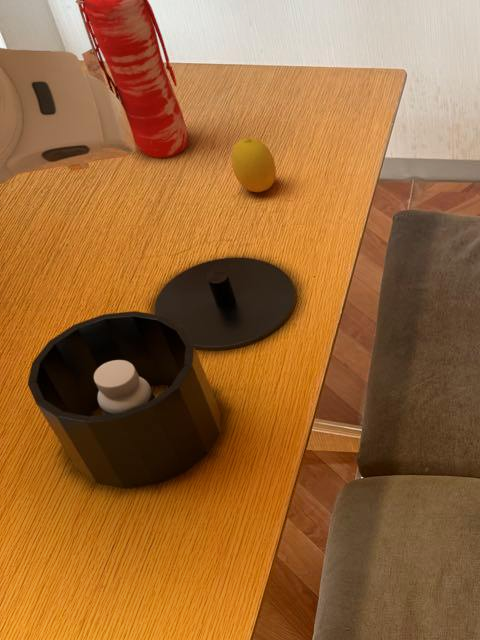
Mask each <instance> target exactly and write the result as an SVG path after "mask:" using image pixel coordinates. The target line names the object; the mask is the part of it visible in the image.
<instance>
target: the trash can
mask: <svg viewBox="0 0 480 640" xmlns="http://www.w3.org/2000/svg"><path fill="white" fill-rule="evenodd" d="M114 360H124V361H127V362H130V363H131V364H132V365H133V366H134V368H135V370H136V372H137V373H138V375H139V377H142V378H143V379H145V380H146V381H147V382H148V384H149V385H150V387H157V386H167V388H166V389H165V390H163V391H162V392H161V393H159V394H157V396H155V398H154V399H153V400H151V401H150V402H147V403H145V404H142V405H139V406H137V407H134V408H132V409H129V410H127V411H124V412H121V413H114V414H105V415H104V414H99V415H92V414H93V413H94V412H95V411H96V410H98V409H99V408H101V407H100V405H99V403H98V392H99V389H98V387H97V385H96V383H95V381H94V373H95V371H96V370H97V369H98V368H99V367H100V366H101V365H103V364H105V363H107V362H110V361H114ZM27 386H28V388H29V391H30V393H31V395H32V397H33V400H34V402H35V404H36V406H37V407H38V409H39V410H40V412H41V414H42V415H43V417H44V418H45V420H46V422H47V424H48V425H49V427H50V428H51V430H52V432H53V433H54V435H55V436H56V438H57V440H58V441H59V442H60V444H61V446H62V447H63V449H64V451H65V452H66V454H67V456H68V458H69V459H70V460H71V462H72V463H73V465H74V466H75V468H76V470H77V471H78V472H80V473H81V474H82V475H84V476H85V477H87V478H89V479H90V480H92V481H93V482H94V483H96V484H98V485H103V486H108V487H115V488H119V489H134V488H141V487H150V486H158V485H160V484H162V483H164V482H166V481H169V480H172V479H173V478H176V477H178V476H180V475H183V474H185V473H187V472H188V471H189V470H190V469H192V468H193V467H194V466H195V465H197V464H198V463H199V462H200V461H202V460H203V459H204V458H205V457H207V455H208V454H209V453H210V451H211V450H212V448H213V446H214V444H215V443H216V440H217V439H218V437H219V436H220V433H221V410H220V408H219V405H218V403H217V400H216V398H215V396H214V392H213V390H212V387H211V385H210V382H209V380H208V377H207V375H206V372H205V370H204V367H203V364H202V362H201V359H200V357H199V354H198V352H197V349H195V347H194V344H193V343H192V341H191V339H190V338H189V336H188V334H187V333H186V331H185V329H184V328H183V327H182V326H180V325H178V324H176V323H174V322H173V321H171V320H169V319H167V318H166V317H164V316H161V315H155V313H148V312H142V311H138V310H132V311H123V312H114V313H113V312H112V313H105V314H101V315H98V316H95V317H92V318H88V319H86V320H84V321H81V322H78V323H75V324H73V325H71V326H70V327H69V328H67V329H65V330H64V331H61V333H59V334H58V335H56V336H55V337H53V338H52V339H50V340H49V341H48V342H47V343H46V344H45V345H44V346H43V348H42V349H41V350H40V352H39V353H38V354H37V355H36V357H35V358H34V359H33V361H32V362H31V366H30V371H29V375H28V381H27Z"/></svg>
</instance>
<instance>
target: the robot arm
mask: <svg viewBox="0 0 480 640" xmlns="http://www.w3.org/2000/svg"><path fill="white" fill-rule="evenodd" d="M106 85H107V84H106ZM106 85H105V84H104V83H103V82H102V81H101V80H99V79H97V78H96V77H93V76H91V75H89V73H85V71H84V68H83V66H82V64H81V62H80V59H79V58H78V56H77V55H76V54H74V53H73V52H70V51H65V50H64V51H63V50H30V49H29V50H28V49H11V48H5V47H4V48H3V47H0V185H3V184H5V183H7V182H9V181H11V180H12V179H14V178H16V177H17V176H18V175H23V174H27V173H33V172H41V171H45V170H52V169H59V168H64V167H67V168H68V169H69V171H70V172H71V171H72V172H74V171H81V170H87V169H90V166H89V163H94V162H99V161H105V160H112V159H118V158H124V157H128V156H130V155H132V154H134V153H135V152H136V150H137V148H136V147H137V144H136V143H135V141H134V138H133V134H132V131H131V127H130V124H129V121H128V118H127V115H126V112H125V110H124V108H123V106H122V104H121V101H119V100H120V99H119V100H118V98H117V97H116V93H115V92H114V91H113V92H114V93H113V92H112V91H111V90H110V87H109V86H108V85H107V86H106Z"/></svg>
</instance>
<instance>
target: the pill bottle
mask: <svg viewBox="0 0 480 640" xmlns="http://www.w3.org/2000/svg"><path fill="white" fill-rule="evenodd" d="M94 381H95V383H96V385H97V387H98V389H99V392H98V403H99V405H100V407H99V408H100V410H101V412H102V413H103V415H105V414H114V413H121V412H124V411H127V410H129V409H132V408H134V407H137V406H139V405H142V404H145V403H147V402H150V401H151V400H153V399H154V398H155V397H156V395H155V394H154V391H153V389H152V386H150V385H149V384H148V382H147V381H146V380H145V379H143V378H142V377H139V375H138V373H137V372H136V370H135V368H134V366H133V365H132V364H131V363H130V362H127V361H124V360H114V361H110V362H107V363H105V364H103V365H101V366H100V367H99V368H98V369H97V370H96V371H95V373H94Z"/></svg>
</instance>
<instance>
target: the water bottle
mask: <svg viewBox="0 0 480 640" xmlns="http://www.w3.org/2000/svg"><path fill="white" fill-rule="evenodd" d="M75 3H76V4H77V6H78V11H79V13H80V16H81V19H82V22H83V26H84V29H85V31H86V35H87V38H88V40H89V43H90V46H91V48H90V49H89V50H86V51H85V52H83V53H81V56H82V58H83V61H84V65H85V67H86V70H87V72H88V73H87V74H88V75H91V76H93V77H96V78H97V79H99V80H101V81H102V82H103V83H104V84H105V85H106V86H107V87H108V88H109V89H110V90H111V91H112V92H113V93H114V94H115V96H116V97H117V98H118V100H119V101H120V103H121V104H122V106H123V108H124V110H125V112H126V115H127V118H128V121H129V124H130V127H131V131H132V134H133V138H134V141H135V145H136V146H137V147H138V148H139V149H140V151H141V152H142V153H144V154H145V155H147V156H148V157H150V158H157V159H165V158H170V157H174V156H176V155H177V154H181V153H182V152H183V151H184V150H185V148H186V147H187V146H188V129H187V125H186V122H185V117H184V115H183V111H182V108H181V106H180V103H179V101H178V98H177V95H176V92H175V91H174V88H173V86H174V87H178V84H177V80H176V75H175V72H174V69H173V66H171V65H170V64H171V63H170V59H169V55H168V52H167V48H166V45H165V42H164V38H163V35H162V32H161V30H160V26H159V24H158V21H157V18H156V16H155V13H154V10H153V8H152V6H151V4H150V2H149V0H75ZM159 43H160V44H159ZM160 46H161V48H162V52H163V56H164V60H165V63H164V60H163V57H162V52H161V48H160ZM104 60H105V63H106V65H107V67H108V69H109V72H110V74H111V76H110V74H109V72H108V71H107V67H106V65H105V63H104ZM165 64H166V65H165ZM167 71H168V72H169V75H170V78H171V80H172V82H173V85H172V83H171V81H170V78H169V76H168V73H167ZM104 76H105V77H104ZM105 78H106V79H105ZM106 81H107V82H106ZM107 84H108V85H107Z"/></svg>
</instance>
